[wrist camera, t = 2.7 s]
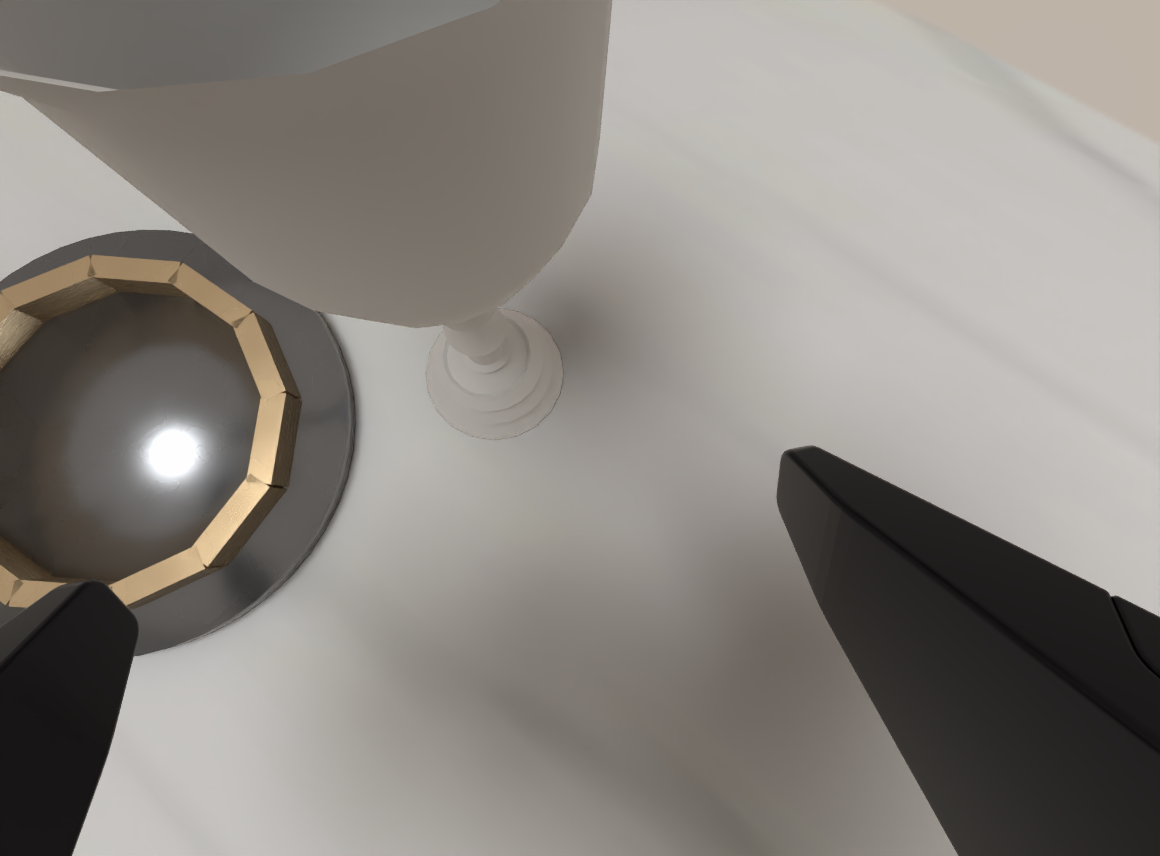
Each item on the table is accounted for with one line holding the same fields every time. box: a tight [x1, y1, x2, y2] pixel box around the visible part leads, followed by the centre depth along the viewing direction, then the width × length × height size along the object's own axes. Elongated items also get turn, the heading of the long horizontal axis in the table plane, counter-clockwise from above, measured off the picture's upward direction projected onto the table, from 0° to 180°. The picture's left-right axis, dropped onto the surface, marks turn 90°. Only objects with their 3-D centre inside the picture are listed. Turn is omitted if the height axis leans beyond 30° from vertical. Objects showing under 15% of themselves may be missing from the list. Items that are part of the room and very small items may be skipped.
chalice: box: [0, 0, 612, 440], centre depth 13 cm, size 7×7×18 cm
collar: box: [0, 230, 355, 656], centre depth 20 cm, size 15×15×2 cm
